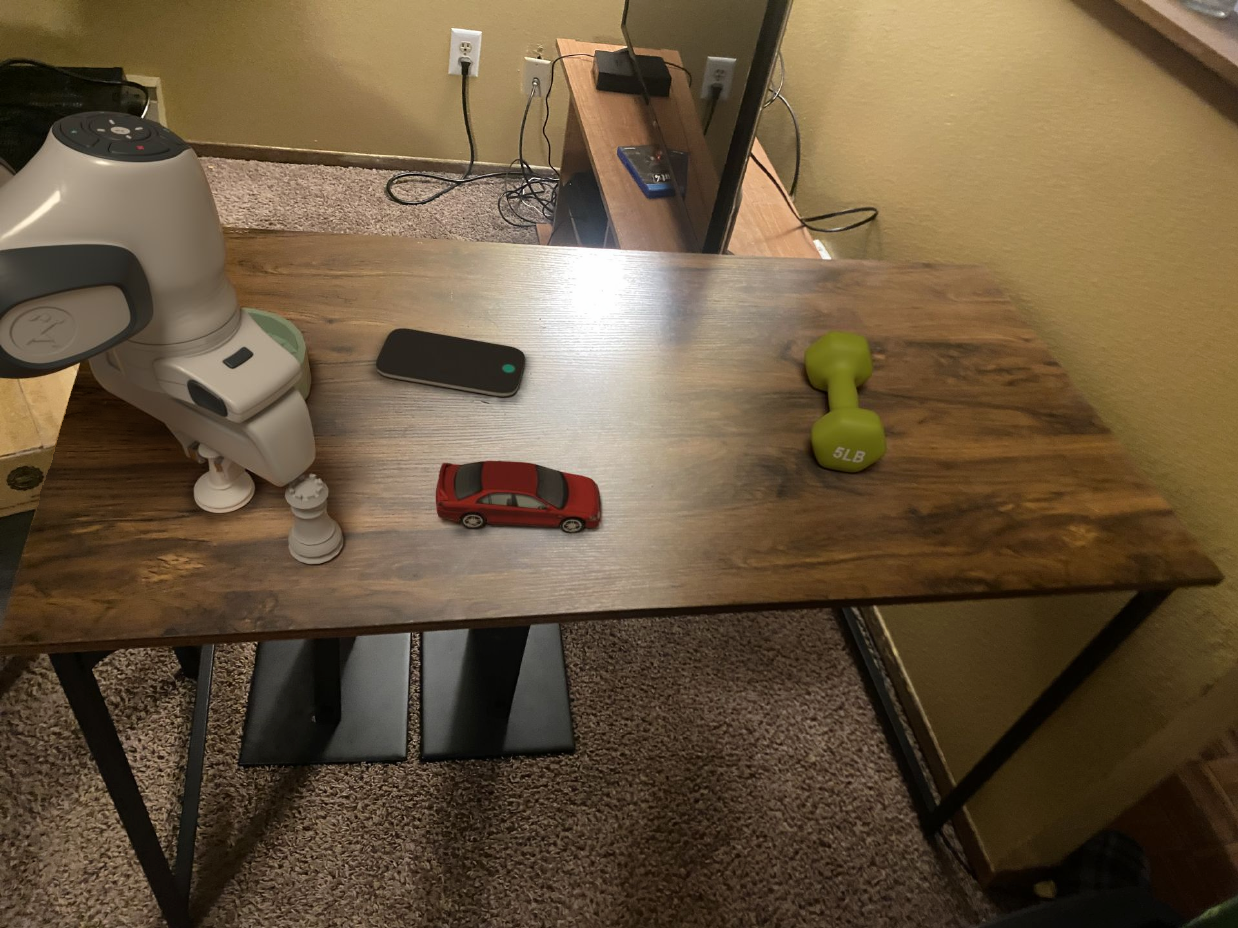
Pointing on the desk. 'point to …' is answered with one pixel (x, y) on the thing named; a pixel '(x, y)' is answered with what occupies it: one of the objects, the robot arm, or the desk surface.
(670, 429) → the desk surface
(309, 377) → the bowl
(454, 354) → the smartphone
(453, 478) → the toy car
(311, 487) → the rook chess piece
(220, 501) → the chess piece
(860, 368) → the dumbbell
